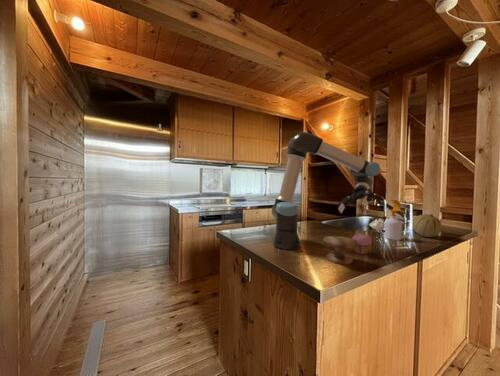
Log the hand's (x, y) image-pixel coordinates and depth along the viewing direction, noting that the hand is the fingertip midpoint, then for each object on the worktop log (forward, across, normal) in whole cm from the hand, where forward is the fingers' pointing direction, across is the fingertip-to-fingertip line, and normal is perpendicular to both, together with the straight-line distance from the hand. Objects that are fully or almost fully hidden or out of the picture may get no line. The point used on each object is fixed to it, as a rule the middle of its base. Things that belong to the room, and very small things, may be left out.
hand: (351, 207), depth 112 cm
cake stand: (+26, +5, -12) cm, 29 cm away
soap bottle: (-30, +2, -39) cm, 49 cm away
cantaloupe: (-47, -11, -52) cm, 71 cm away
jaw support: (-47, +13, -42) cm, 64 cm away
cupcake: (+11, +3, -20) cm, 23 cm away
